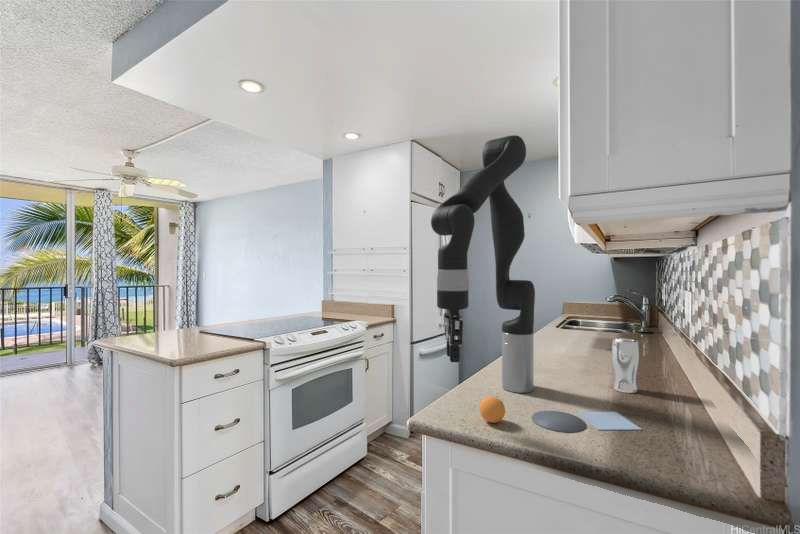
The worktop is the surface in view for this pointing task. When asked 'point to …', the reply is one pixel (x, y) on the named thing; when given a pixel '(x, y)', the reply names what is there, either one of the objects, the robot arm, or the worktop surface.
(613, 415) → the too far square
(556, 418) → the disc
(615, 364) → the beer glass
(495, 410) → the ball
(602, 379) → the worktop surface
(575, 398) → the worktop surface
